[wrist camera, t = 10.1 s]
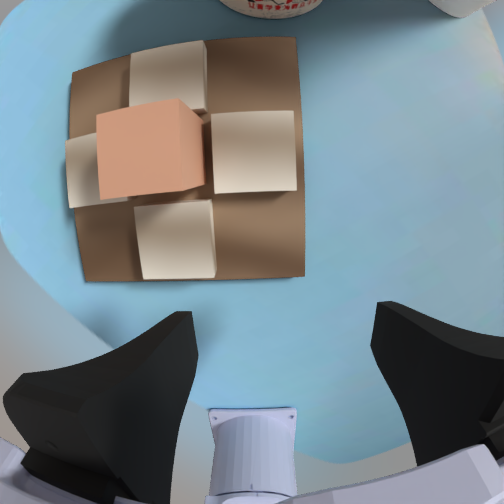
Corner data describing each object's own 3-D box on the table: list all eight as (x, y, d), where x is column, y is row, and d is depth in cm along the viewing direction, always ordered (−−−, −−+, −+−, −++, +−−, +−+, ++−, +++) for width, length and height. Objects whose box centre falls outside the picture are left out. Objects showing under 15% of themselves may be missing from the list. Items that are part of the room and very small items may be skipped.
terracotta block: (206, 184, 17) (183, 190, 12) (145, 189, 18) (100, 199, 12) (203, 120, 16) (178, 98, 11) (142, 129, 16) (96, 114, 11)
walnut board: (302, 271, 20) (308, 285, 18) (92, 276, 20) (76, 288, 18) (293, 42, 16) (298, 27, 13) (79, 75, 16) (61, 67, 14)
